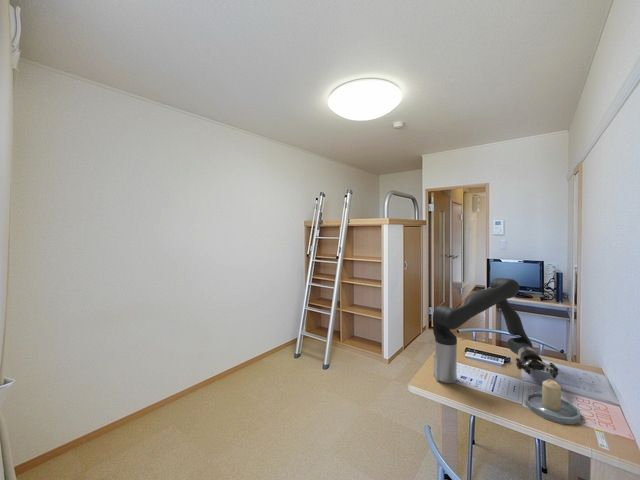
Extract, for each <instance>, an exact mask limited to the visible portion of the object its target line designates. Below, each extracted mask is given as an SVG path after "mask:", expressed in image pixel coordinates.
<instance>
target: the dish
mask: <svg viewBox="0 0 640 480" xmlns="http://www.w3.org/2000/svg"><path fill="white" fill-rule="evenodd" d="M524 404H525V406H526V407H527V408H528V409H529V410H530V411H531V413H534V414H536V415H537V416H539V417H541V418H543V419H545V420H548V421H551V422H554V423H558V424H562V425H563V424H565V425H576V424H578V423H580V422H581V421H582V419H581V418H582V417H581V411H580V409H579V407H577V406H576V405H574V404H573V403H572V402H570V401H568V400H566V399H564V398H562V397H561V409H560V411H552V410H549V409H547V408H545V407H544V406H543V405H542V392H536V391H535V392H534V391H533V392H529V393H526V394H525V403H524Z"/></svg>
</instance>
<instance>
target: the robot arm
mask: <svg viewBox="0 0 640 480" xmlns="http://www.w3.org/2000/svg"><path fill="white" fill-rule="evenodd" d="M519 291H520V284H519V282H518V281H516V280H515V279H512V278H504V277H503V278H502V277H499V278H498V277H497V278H493V279H492V280H491V282H490V288H486V289H485V288H484V289H480V290H477V291H475V292H472V293H470V294H469V295H467V296H466V297H465V299H464V301H463V302H464V303H463V305H462V306H459V307H456V308H452V307H449V306H446V305H442V304H441V305H438V306H436V307H435V308H434V310H433V312H432V313H433V314H432V329H433V331H432V332H433V336H434V354H433V376H434V378H435V379H436V381H437V382H441V383H445V384H454V383H456V382H457V380H458V379H457V377H458V376H457V373H458V372H457V369H458V368H457V366H458V365H457V364H458V363H457V362H458V361H457V360H458V357H457V356H458V355H457V354H458V337H457V336H456V335H455V334H454V333H453V332H452V331H451V330H456V329H457V328H460V327H461V326H462V325H464V324H465V323H467V321H469V320H471V319H472V318H474V317H475V316H477V315H478V314H480V313H481V314H482V312H485V311H487V310H488V309H490V308H491V307H493V306H495V305H498V308H499V309H500V311H501V314H502V316H503V320H504V322H505V325H506V328H507V332H508V334H510V335H511V336H516V337H511V338H509V339H507V343H506V344H507V347H508V348H509V350H510V351H511V352H512V353H514V354H515V355H517V356H518V357H519V358H517V357H516V358H515V364H516V367H517V369H518V370H523V371H524V372H525V374H528V375H531V371H541V372H543V373H545V374H549V375H550V376H551V377H552V378H553V379H556V378H557V376H558V375H559V368H558V367H557V366H556V365H555V364H554V363H552V362H549V364H548V363H545V362H544V361H543V359H542V358H541V356H540V355H539V353H538V352H536V350H534V349H533V343H532V340H531V339H530V338H529V337H528V335H527V333H526V331H525V329H524V326H523V322H522V320H521V317H520V315H519V314H518V313H517V311H516V310H515V309H514V308H513V307H512V306H511V304H510V303H509V301H508V300H509V299H511V298H513V297H515V296H516V295H517V294H518V293H519Z"/></svg>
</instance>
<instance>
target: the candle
mask: <svg viewBox="0 0 640 480" xmlns="http://www.w3.org/2000/svg"><path fill="white" fill-rule="evenodd" d="M541 386H542V388H541V389H542V390H541V393H542V405H543V406H544V407H545V408H547V409H549V410H552V411H560V409H561V398H562V386H561V385H560V384H559V383H558V382H556V381H555V380H554V379H551V378H550V379H546V380H543V381H542V385H541Z"/></svg>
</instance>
